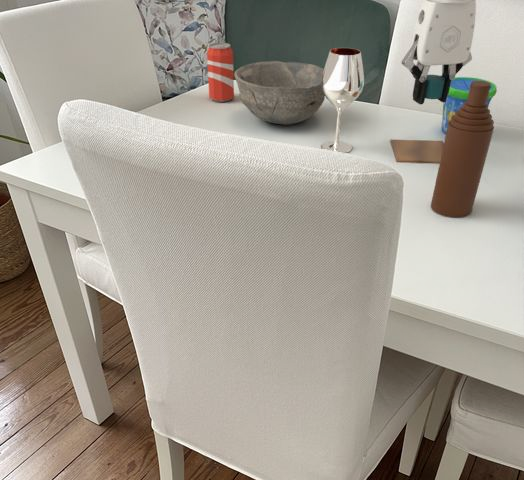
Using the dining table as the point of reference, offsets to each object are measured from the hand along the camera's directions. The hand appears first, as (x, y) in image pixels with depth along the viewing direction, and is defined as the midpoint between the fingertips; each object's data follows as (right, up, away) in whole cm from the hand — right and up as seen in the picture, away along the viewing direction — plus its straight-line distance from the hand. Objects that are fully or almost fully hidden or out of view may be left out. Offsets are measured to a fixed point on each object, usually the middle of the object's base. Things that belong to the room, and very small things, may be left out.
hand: (429, 100), depth 109 cm
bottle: (0, -24, -12) cm, 27 cm away
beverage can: (-42, +14, +32) cm, 55 cm away
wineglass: (-17, -7, +8) cm, 20 cm away
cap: (0, +1, 0) cm, 1 cm away
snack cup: (+11, -1, +15) cm, 18 cm away
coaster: (0, -8, +6) cm, 10 cm away
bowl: (-28, +4, +21) cm, 35 cm away
